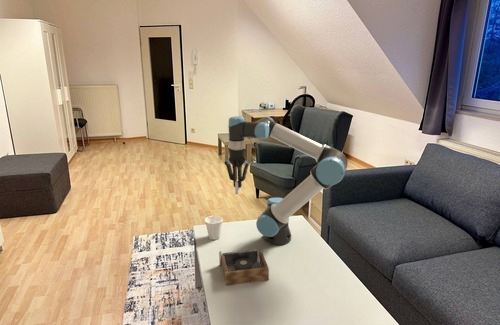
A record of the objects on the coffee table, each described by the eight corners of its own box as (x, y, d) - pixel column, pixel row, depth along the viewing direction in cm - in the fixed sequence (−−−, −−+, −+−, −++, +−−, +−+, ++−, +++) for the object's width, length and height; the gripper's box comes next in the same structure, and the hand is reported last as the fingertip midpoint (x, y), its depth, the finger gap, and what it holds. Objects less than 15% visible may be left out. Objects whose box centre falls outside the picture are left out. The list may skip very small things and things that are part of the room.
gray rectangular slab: (256, 260, 170) (256, 247, 168) (257, 261, 168) (257, 249, 166) (219, 264, 166) (218, 251, 164) (219, 266, 165) (219, 253, 163)
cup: (224, 233, 196) (224, 215, 193) (221, 242, 187) (221, 224, 184) (207, 232, 197) (206, 215, 194) (203, 241, 188) (202, 223, 184)
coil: (250, 263, 168) (250, 256, 167) (253, 273, 160) (253, 266, 159) (234, 265, 166) (233, 258, 165) (236, 275, 159) (236, 268, 158)
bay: (261, 262, 168) (261, 251, 167) (268, 279, 155) (268, 268, 153) (221, 266, 165) (221, 255, 163) (225, 285, 152) (225, 273, 150)
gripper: (221, 149, 168) (223, 194, 175) (246, 151, 164) (247, 197, 171) (227, 145, 175) (228, 189, 182) (251, 147, 171) (252, 192, 177)
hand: (237, 193), depth 176 cm, fingers closed
